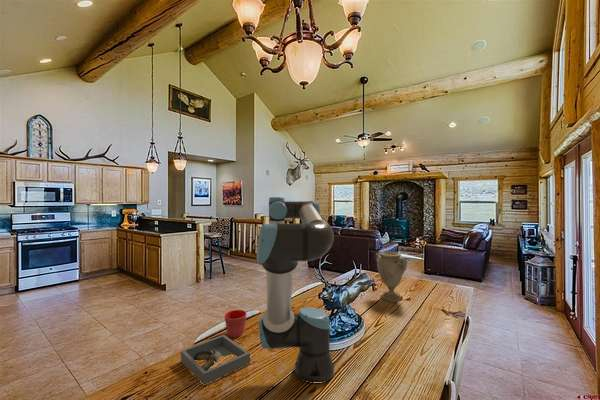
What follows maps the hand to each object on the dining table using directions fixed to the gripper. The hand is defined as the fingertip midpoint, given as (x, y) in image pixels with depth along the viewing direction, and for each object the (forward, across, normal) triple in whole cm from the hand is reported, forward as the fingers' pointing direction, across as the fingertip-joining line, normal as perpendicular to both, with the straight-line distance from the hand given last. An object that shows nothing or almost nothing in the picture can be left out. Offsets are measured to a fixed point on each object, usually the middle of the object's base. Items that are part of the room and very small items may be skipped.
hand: (277, 274), depth 135 cm
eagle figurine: (+31, +1, +35) cm, 46 cm away
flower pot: (+31, +18, +12) cm, 38 cm away
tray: (+31, +2, +31) cm, 44 cm away
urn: (+31, -11, -87) cm, 93 cm away
